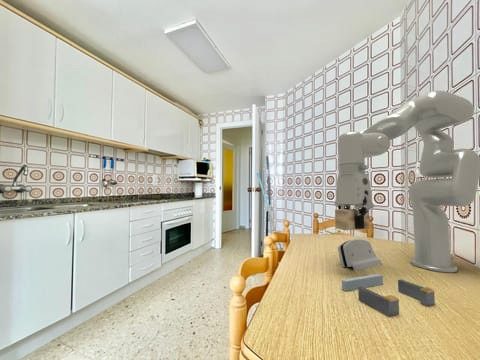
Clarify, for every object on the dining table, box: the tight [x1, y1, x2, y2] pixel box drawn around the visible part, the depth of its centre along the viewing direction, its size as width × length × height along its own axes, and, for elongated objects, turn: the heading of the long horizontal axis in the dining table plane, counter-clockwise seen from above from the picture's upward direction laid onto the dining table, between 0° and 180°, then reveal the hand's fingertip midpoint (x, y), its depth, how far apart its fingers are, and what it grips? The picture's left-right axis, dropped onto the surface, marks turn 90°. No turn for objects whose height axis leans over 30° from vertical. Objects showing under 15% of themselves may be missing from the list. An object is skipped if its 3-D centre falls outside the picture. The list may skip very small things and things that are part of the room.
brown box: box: [334, 208, 371, 231], centre depth 66 cm, size 10×4×6 cm, turn 110°
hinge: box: [337, 238, 382, 272], centre depth 76 cm, size 17×5×10 cm, turn 119°
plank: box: [341, 273, 384, 292], centre depth 57 cm, size 14×1×2 cm, turn 110°
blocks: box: [357, 278, 436, 318], centre depth 49 cm, size 15×7×3 cm, turn 110°
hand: (353, 226), depth 66 cm, fingers closed on brown box, 4 cm apart
